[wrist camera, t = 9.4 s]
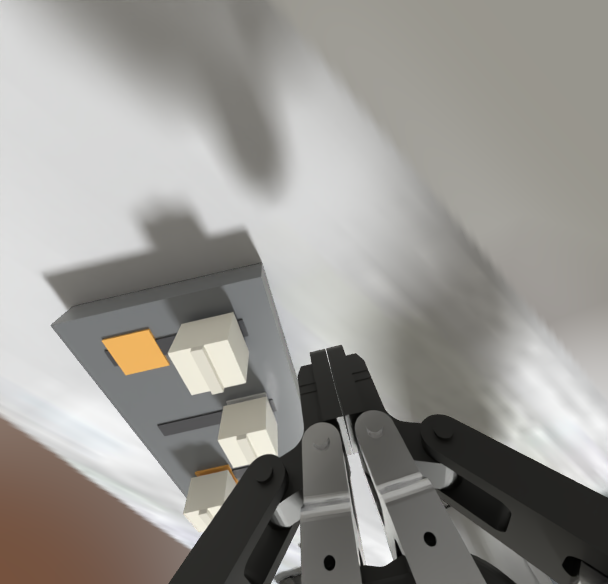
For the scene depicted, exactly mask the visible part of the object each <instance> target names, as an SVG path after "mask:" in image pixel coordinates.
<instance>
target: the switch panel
mask: <svg viewBox="0 0 608 584" xmlns="http://www.w3.org/2000/svg"><path fill="white" fill-rule="evenodd" d="M232 312H234V315H235V317H236V320H237V322H238V325H239V327H240V330H241V333H242V335H243V338H244V340H245V343H246V345H247V348H248V350H249V359H248V369H247V379H246V383H243V384H239V385H235V386H230V387H226V388H224V392H222V393H218V394H213V395H212V393H211V391H208V392H204V393H199V394H195V395H191V393H190V392H189V390H188V388H187V386H186V385H185V383H184V381H183V379H182V378H181V376H180V374H179V372H178V371H177V369H176V367H175V365H174V364H173V362H172V360H171V358H170V357H169V355H168V351H169V349H170V347H171V345H172V343H173V341H174V339H175V337H176V335H177V333H178V330H179V328H180V326H181V324H184V323H188V322H192V321H197V320H201V319H205V318H210V317H214V316H218V315H223V314H227V313H232ZM51 327H52V328H53V329H54V331H55V332H56V333H57V334H58V336H59V337H60V338H61V339H62V341H63V342H64V343H65V345H66V346H67V347H68V348H69V350H70V351H71V352H72V353H73V355H74V356H75V357H76V358H77V360H78V361H79V362H80V364H81V365H82V366H83V367H84V369H85V370H86V371H87V372H88V374H89V375H90V376H91V377H92V379H93V380H94V381H95V383H96V384H97V385H98V386H99V388H100V389H101V390H102V391H103V393H104V394H105V395H106V397H107V398H108V399H109V400H110V402H111V403H112V404H113V405H114V407H115V408H116V409H117V410H118V412H119V413H120V414H121V416H122V417H123V418H124V419H125V421H126V422H127V423H128V424H129V426H130V427H131V428H132V430H133V431H134V432H135V433H136V435H137V436H138V437H139V438H140V440H141V441H142V442H143V443H144V445H145V446H146V447H147V449H148V450H149V451H150V452H151V454H152V455H153V456H154V457H155V459H156V460H157V461H158V463H159V464H160V465H161V466H162V468H163V469H164V470H165V471H166V473H167V474H168V475H169V476H170V478H171V479H172V480H173V482H174V483H175V484H176V485H177V487H178V488H179V489H180V490H181V492H182V493H183V494H184V495H185V497H186V498H187V495H188V491H189V486H190V482H191V478H193V477H198V476H202V475H207V474H211V473H216V472H220V471H225V470H228V471H229V472H230V474H231V476H232V477H233V479H234V481H235V482H236V484H237V483H238V481H239V480H240V479H241V477H242V476H243V474H244V473H245V471H246V470H247V468H248V467H249V464H248V465H244V466H240V467H235V468H233V466H232V465H231V463H230V461H229V459H228V458H227V456H226V454H225V452H224V451H223V449H222V447H221V445H220V444H219V442H218V434H219V429H220V423H221V417H222V412H223V406H227V405H231V404H235V403H240V402H244V401H249V400H253V399H258V398H262V397H267V399H268V402H269V404H270V407H271V409H272V412H273V414H274V417H275V420H276V422H277V432H278V457H281V456H282V455H284V454H286V453H287V452H289V451H291V450H292V449H293V448H295V447H296V446H297V444H298V443H299V442H300V440H301V438H302V436H303V432H304V424H303V416H302V408H301V400H300V392H299V384H298V380H297V377H296V373H295V370H294V367H293V363H292V360H291V357H290V353H289V350H288V347H287V343H286V340H285V337H284V334H283V330H282V327H281V324H280V320H279V317H278V314H277V310H276V307H275V304H274V300H273V297H272V294H271V290H270V287H269V284H268V280H267V277H266V274H265V270H264V267H263V264H262V263H259V264H254V265H250V266H246V267H242V268H237V269H233V270H229V271H224V272H220V273H216V274H211V275H207V276H203V277H198V278H194V279H190V280H185V281H181V282H177V283H172V284H168V285H164V286H159V287H155V288H151V289H146V290H142V291H138V292H133V293H129V294H125V295H120V296H116V297H112V298H107V299H103V300H99V301H95V302H90V303H86V304H82V305H77V306H73V307H71V308H70V309H69V310H68V311H67V312H65V313H64V314H63V315H62V316H61V317H60V318H58V319H57V320H56V321H55V322H54V323H53V324H51Z"/></svg>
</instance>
